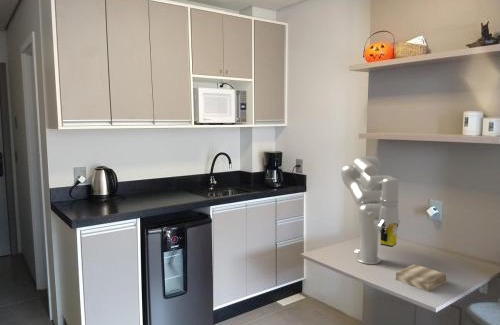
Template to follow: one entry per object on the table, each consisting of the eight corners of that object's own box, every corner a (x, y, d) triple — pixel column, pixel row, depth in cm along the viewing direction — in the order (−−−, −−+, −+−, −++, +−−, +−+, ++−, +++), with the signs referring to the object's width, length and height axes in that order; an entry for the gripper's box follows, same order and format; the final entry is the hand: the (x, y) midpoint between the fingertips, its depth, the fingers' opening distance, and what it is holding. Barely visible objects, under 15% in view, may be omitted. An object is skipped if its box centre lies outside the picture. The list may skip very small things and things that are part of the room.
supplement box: (384, 241, 190) (385, 220, 189) (396, 244, 186) (397, 222, 185) (380, 244, 186) (380, 223, 184) (392, 247, 182) (393, 225, 181)
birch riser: (395, 279, 183) (396, 271, 182) (414, 271, 192) (414, 264, 192) (427, 291, 170) (428, 282, 169) (446, 282, 179) (446, 274, 179)
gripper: (393, 199, 192) (392, 234, 194) (371, 204, 182) (371, 240, 184) (406, 202, 186) (405, 237, 188) (385, 207, 175) (384, 244, 178)
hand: (388, 238), depth 186 cm, fingers closed on supplement box, 6 cm apart
